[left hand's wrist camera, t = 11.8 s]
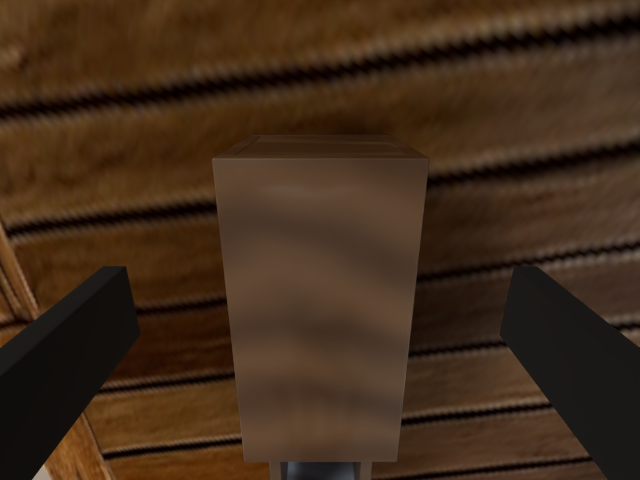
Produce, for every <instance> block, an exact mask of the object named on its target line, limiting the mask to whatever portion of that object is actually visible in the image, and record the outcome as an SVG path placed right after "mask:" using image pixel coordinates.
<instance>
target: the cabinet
mask: <svg viewBox="0 0 640 480" xmlns="http://www.w3.org/2000/svg"><path fill="white" fill-rule="evenodd" d="M212 165H213V174H214V183H215V193H216V202H217V211H218V220H219V230H220V239H221V248H222V258H223V267H224V276H225V286H226V295H227V304H228V313H229V323H230V332H231V341H232V351H233V360H234V369H235V379H236V388H237V397H238V406H239V416H240V425H241V434H242V444H243V453H244V461H245V462H396V461H397V455H398V446H399V436H400V427H401V418H402V409H403V399H404V390H405V381H406V372H407V362H408V353H409V344H410V334H411V325H412V316H413V307H414V297H415V288H416V279H417V270H418V260H419V251H420V242H421V233H422V223H423V214H424V205H425V195H426V186H427V177H428V168H429V158H428V157H426V156H424V155H423V154H421V153H420V152H418V151H416V150H414V149H413V148H411V147H409V146H408V145H406V144H404V143H403V142H401V141H399V140H397V139H396V138H394V137H392V136H391V135H250V136H249V137H247V138H246V139H244V140H242V141H241V142H239V143H237V144H236V145H234V146H232V147H230V148H229V149H227V150H225V151H224V152H222V153H220V154H219V155H217V156H215V157H214V158H212Z"/></svg>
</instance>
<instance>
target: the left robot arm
mask: <svg viewBox="0 0 640 480" xmlns="http://www.w3.org/2000/svg"><path fill="white" fill-rule="evenodd" d="M139 336H140V330H139V325H138V321H137V316H136V311H135V307H134V302H133V297H132V293H131V288H130V283H129V279H128V274H127V269H126V266H103V267H102V268H101V269H99V270H98V271H97V272H96V273H94V274H93V275H92V276H91V277H89V278H88V279H87V280H85V281H84V282H83V283H82V284H80V285H79V286H78V287H77V288H75V289H74V290H73V291H72V292H70V293H69V294H68V295H67V296H65V297H64V298H63V299H62V300H60V301H59V302H58V303H56V304H55V305H54V306H53V307H51V308H50V309H49V310H48V311H46V312H45V313H44V314H43V315H41V316H40V317H39V318H38V319H36V320H35V321H34V322H32V323H31V324H30V325H29V326H27V327H26V328H25V329H24V330H22V331H21V332H20V333H19V334H17V335H16V336H15V337H14V338H12V339H11V340H10V341H9V342H7V343H6V344H5V345H3V346H2V347H1V348H0V480H32V479H33V478H34V476H35V475H36V474H37V472H38V471H39V470H40V468H41V467H42V466H43V464H44V463H45V462H46V460H47V459H48V458H49V456H50V455H51V454H52V452H53V451H54V450H55V448H56V447H57V446H58V444H59V443H60V442H61V440H62V439H63V437H64V436H65V435H66V433H67V432H68V431H69V429H70V428H71V427H72V425H73V424H74V423H75V421H76V420H77V419H78V417H79V416H80V415H81V413H82V412H83V411H84V409H85V408H86V407H87V405H88V404H89V403H90V401H91V400H92V399H93V397H94V396H95V395H96V393H97V392H98V391H99V389H100V388H101V387H102V385H103V384H104V383H105V381H106V380H107V379H108V377H109V376H110V375H111V373H112V372H113V371H114V369H115V368H116V367H117V365H118V364H119V363H120V361H121V360H122V359H123V357H124V356H125V355H126V353H127V352H128V351H129V349H130V348H131V347H132V345H133V344H134V343H135V341H136V340H137V339H138V337H139ZM500 336H501V337H502V339H503V340H504V341H505V343H506V344H507V345H508V347H509V348H510V349H511V351H512V352H513V353H514V355H515V356H516V357H517V359H518V360H519V361H520V363H521V364H522V365H523V367H524V368H525V369H526V371H527V372H528V373H529V375H530V376H531V377H532V379H533V380H534V381H535V383H536V384H537V385H538V387H539V388H540V389H541V391H542V392H543V393H544V395H545V396H546V397H547V399H548V400H549V401H550V403H551V404H552V405H553V407H554V408H555V409H556V411H557V412H558V413H559V415H560V416H561V417H562V419H563V420H564V421H565V423H566V424H567V425H568V427H569V428H570V429H571V431H572V432H573V433H574V435H575V436H576V437H577V439H578V440H579V442H580V443H581V444H582V446H583V447H584V448H585V450H586V451H587V452H588V454H589V455H590V456H591V458H592V459H593V460H594V462H595V463H596V464H597V466H598V467H599V468H600V470H601V471H602V472H603V474H604V475H605V476H606V478H607V479H608V480H640V347H638V346H637V345H635V344H634V343H633V342H631V341H630V340H629V339H628V338H626V337H625V336H624V335H623V334H621V333H620V332H619V331H618V330H616V329H615V328H614V327H613V326H611V325H610V324H609V323H608V322H606V321H605V320H604V319H602V318H601V317H600V316H599V315H597V314H596V313H595V312H594V311H592V310H591V309H590V308H589V307H587V306H586V305H585V304H584V303H582V302H581V301H580V300H578V299H577V298H576V297H575V296H573V295H572V294H571V293H570V292H568V291H567V290H566V289H565V288H563V287H562V286H561V285H560V284H558V283H557V282H556V281H555V280H553V279H552V278H551V277H549V276H548V275H547V274H546V273H544V272H543V271H542V270H541V269H539V268H538V267H537V266H514V269H513V274H512V279H511V283H510V288H509V293H508V297H507V302H506V307H505V311H504V316H503V321H502V325H501V330H500Z"/></svg>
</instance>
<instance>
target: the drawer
mask: <svg viewBox="0 0 640 480" xmlns="http://www.w3.org/2000/svg"><path fill="white" fill-rule="evenodd" d="M269 467H270V480H371V469H372V462H269Z"/></svg>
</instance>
